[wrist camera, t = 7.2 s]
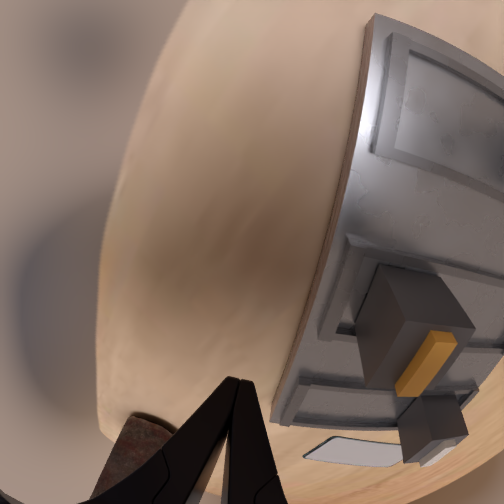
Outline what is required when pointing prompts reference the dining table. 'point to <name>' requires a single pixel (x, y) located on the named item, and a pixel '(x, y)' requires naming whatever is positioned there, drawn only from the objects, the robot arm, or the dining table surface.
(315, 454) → the smartphone
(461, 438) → the breaker
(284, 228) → the dining table surface
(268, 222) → the dining table surface
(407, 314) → the breaker mid
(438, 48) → the panel
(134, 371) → the dining table surface
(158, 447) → the candle
